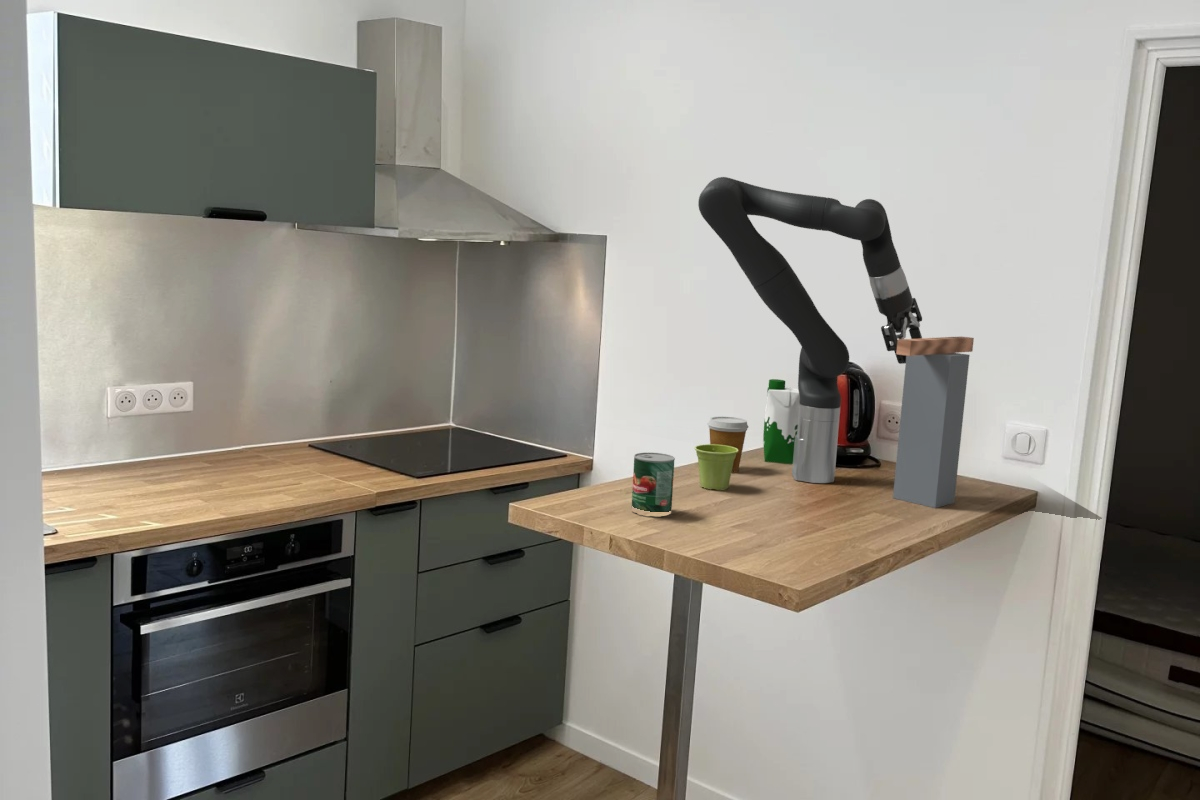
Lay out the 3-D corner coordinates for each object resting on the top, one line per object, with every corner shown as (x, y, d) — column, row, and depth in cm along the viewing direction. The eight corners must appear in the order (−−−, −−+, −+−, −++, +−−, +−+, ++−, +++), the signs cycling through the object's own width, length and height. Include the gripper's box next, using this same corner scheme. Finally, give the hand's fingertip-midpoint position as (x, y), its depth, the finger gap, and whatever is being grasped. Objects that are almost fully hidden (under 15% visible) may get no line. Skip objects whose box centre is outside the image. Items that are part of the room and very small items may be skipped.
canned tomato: (678, 511, 203) (681, 456, 202) (661, 519, 196) (664, 462, 195) (641, 504, 207) (644, 450, 205) (623, 512, 200) (627, 456, 198)
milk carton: (762, 455, 263) (768, 377, 260) (798, 458, 261) (804, 380, 258) (760, 462, 255) (766, 381, 252) (798, 465, 253) (804, 384, 250)
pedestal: (935, 508, 216) (950, 356, 212) (892, 497, 224) (906, 350, 219) (954, 502, 222) (969, 354, 217) (912, 493, 229) (926, 349, 224)
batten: (909, 355, 207) (910, 340, 207) (896, 354, 210) (897, 339, 209) (972, 351, 225) (973, 337, 225) (959, 350, 227) (960, 336, 227)
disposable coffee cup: (748, 468, 247) (752, 418, 245) (740, 476, 238) (744, 424, 236) (709, 463, 250) (713, 414, 248) (700, 471, 241) (703, 420, 239)
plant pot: (713, 494, 218) (716, 454, 217) (683, 485, 226) (685, 446, 224) (744, 489, 224) (747, 450, 223) (713, 480, 231) (716, 442, 230)
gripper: (887, 275, 232) (907, 338, 238) (861, 305, 223) (883, 370, 229) (919, 271, 227) (938, 336, 233) (893, 302, 218) (914, 368, 224)
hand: (911, 353), depth 231 cm, fingers open, 8 cm apart
